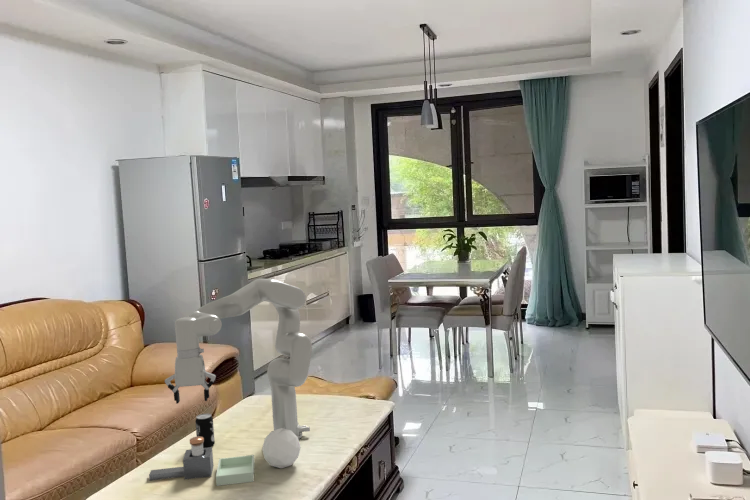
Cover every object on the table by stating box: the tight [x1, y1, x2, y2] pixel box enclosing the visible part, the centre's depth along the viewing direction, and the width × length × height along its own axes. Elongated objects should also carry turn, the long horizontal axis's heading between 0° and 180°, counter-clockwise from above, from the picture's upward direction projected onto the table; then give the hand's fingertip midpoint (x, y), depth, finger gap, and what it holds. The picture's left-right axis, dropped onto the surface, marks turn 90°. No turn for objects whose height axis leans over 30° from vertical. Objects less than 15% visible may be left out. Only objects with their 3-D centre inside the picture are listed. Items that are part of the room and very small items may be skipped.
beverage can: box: [194, 413, 216, 448], centre depth 256 cm, size 7×7×12 cm
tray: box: [215, 454, 255, 487], centre depth 229 cm, size 15×12×3 cm
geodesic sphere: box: [262, 426, 302, 469], centre depth 234 cm, size 14×14×14 cm
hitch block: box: [148, 446, 214, 481], centre depth 231 cm, size 21×9×7 cm, turn 99°
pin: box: [189, 436, 204, 457], centre depth 231 cm, size 5×5×12 cm
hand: (192, 401), depth 230 cm, fingers open, 9 cm apart
